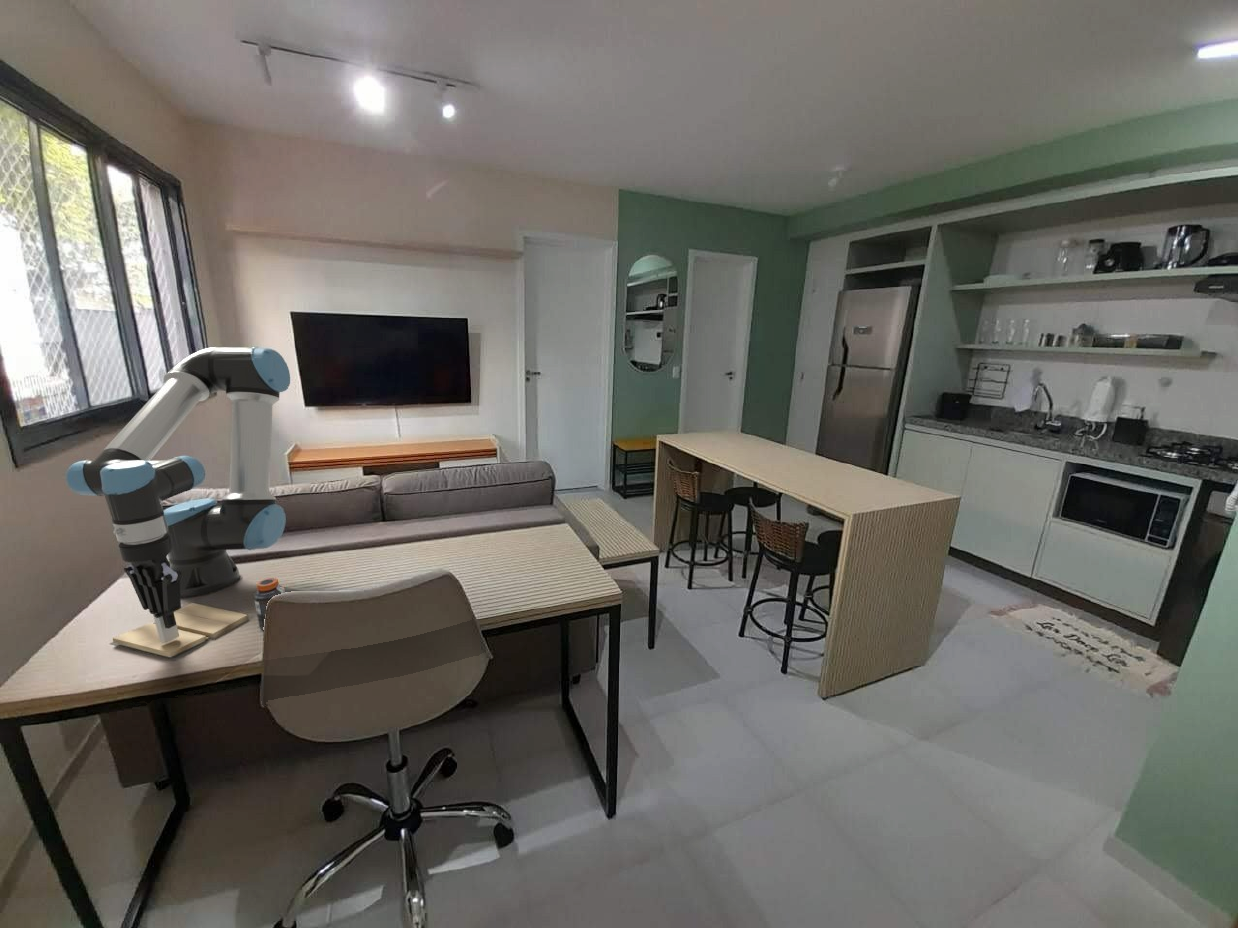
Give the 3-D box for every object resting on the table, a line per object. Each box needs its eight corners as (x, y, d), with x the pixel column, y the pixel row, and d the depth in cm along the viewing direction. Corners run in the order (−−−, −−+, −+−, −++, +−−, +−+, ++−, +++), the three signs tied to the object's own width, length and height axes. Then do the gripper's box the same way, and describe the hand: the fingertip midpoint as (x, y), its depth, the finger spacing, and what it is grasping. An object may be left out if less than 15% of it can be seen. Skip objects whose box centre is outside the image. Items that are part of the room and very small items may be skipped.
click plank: (154, 625, 113) (153, 621, 113) (209, 639, 109) (208, 634, 109) (113, 642, 106) (112, 638, 106) (170, 657, 102) (169, 652, 102)
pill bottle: (295, 617, 119) (288, 575, 116) (280, 631, 113) (272, 587, 110) (270, 617, 118) (262, 575, 116) (253, 632, 113) (245, 587, 110)
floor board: (192, 607, 122) (191, 602, 121) (248, 619, 117) (247, 614, 117) (155, 624, 114) (154, 620, 114) (213, 638, 110) (212, 633, 109)
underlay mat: (193, 605, 123) (193, 604, 123) (253, 618, 118) (253, 617, 118) (109, 644, 107) (109, 643, 107) (175, 661, 102) (174, 660, 102)
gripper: (98, 540, 97) (127, 643, 103) (145, 549, 94) (172, 655, 100) (142, 526, 104) (167, 624, 110) (187, 534, 101) (211, 634, 107)
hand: (170, 638), depth 105 cm, fingers closed
